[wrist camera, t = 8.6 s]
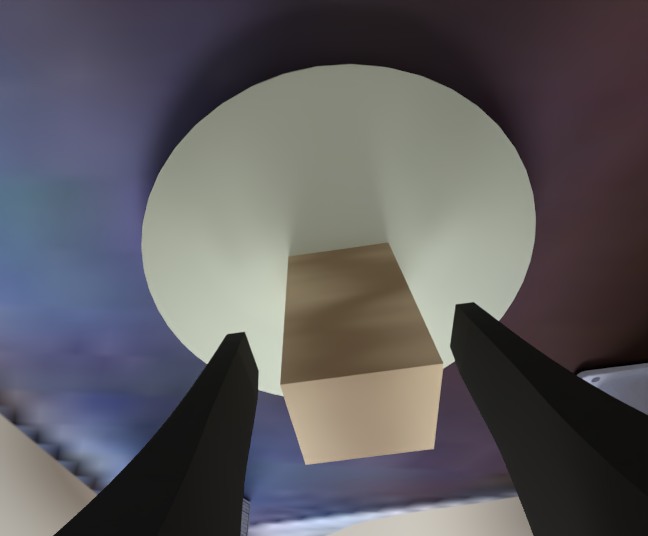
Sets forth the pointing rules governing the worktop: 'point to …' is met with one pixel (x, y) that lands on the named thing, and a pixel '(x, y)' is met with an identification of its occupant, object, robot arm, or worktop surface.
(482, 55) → the worktop surface
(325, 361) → the tan rectangular block
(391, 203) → the sage dish
